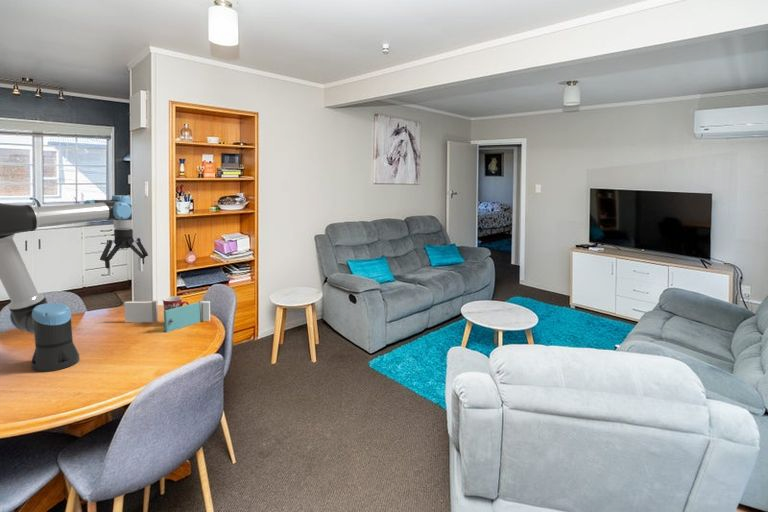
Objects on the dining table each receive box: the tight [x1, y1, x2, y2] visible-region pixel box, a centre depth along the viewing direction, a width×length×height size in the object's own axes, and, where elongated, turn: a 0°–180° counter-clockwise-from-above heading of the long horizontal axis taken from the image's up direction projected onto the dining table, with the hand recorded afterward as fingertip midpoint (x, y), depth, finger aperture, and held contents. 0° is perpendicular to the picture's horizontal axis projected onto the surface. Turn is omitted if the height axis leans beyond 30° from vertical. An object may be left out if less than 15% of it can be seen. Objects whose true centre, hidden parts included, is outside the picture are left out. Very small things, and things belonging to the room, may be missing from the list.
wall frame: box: [123, 300, 211, 323], centre depth 223 cm, size 2×41×11 cm, turn 99°
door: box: [163, 301, 200, 333], centre depth 216 cm, size 4×19×10 cm, turn 152°
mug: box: [162, 295, 190, 312], centre depth 220 cm, size 13×9×14 cm
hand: (125, 273), depth 203 cm, fingers open, 13 cm apart
